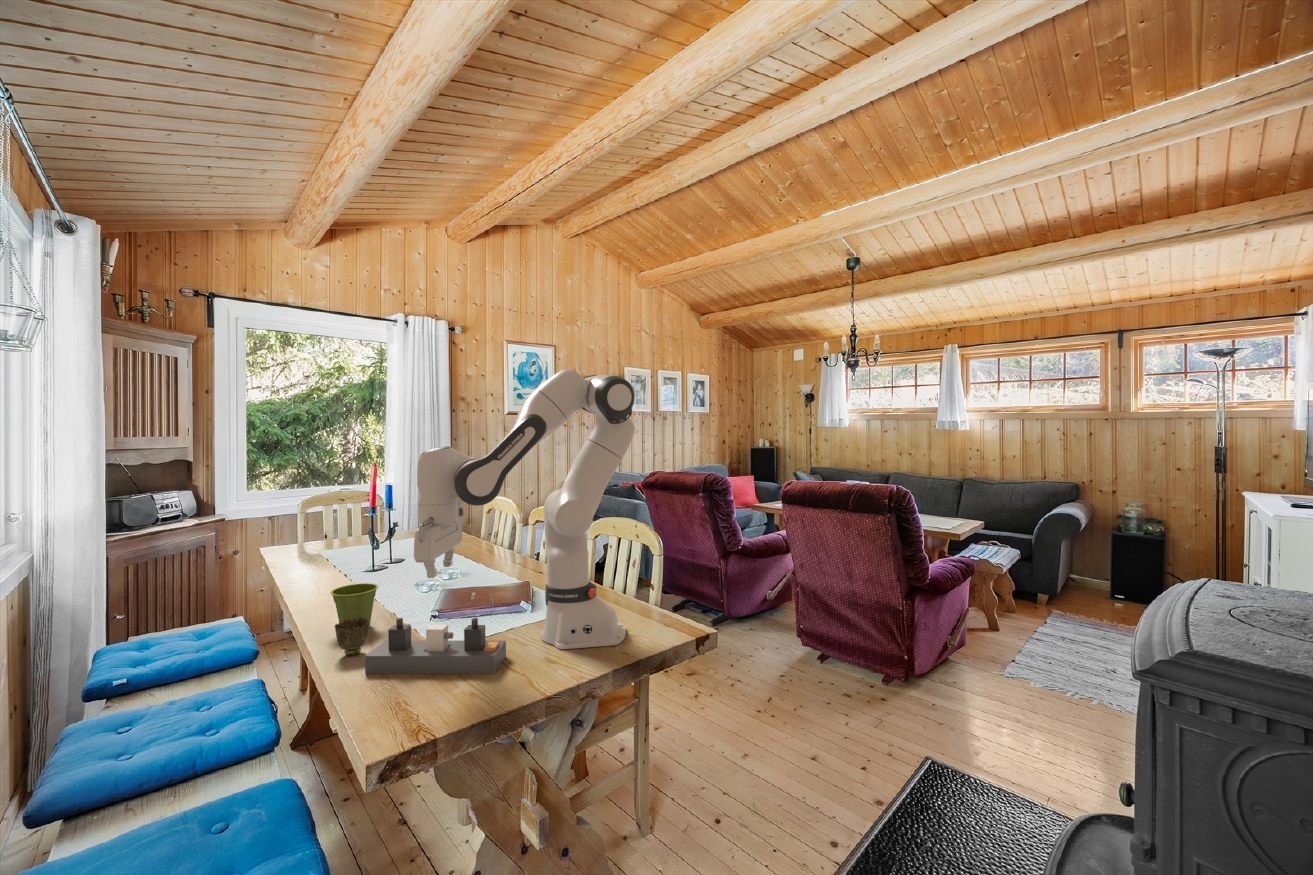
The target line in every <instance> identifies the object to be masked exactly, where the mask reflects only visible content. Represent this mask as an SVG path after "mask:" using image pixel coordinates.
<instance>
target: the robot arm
mask: <svg viewBox="0 0 1313 875" xmlns="http://www.w3.org/2000/svg"><path fill="white" fill-rule="evenodd" d="M634 404H635V391H634V387H633V386H632V384H631V383H630V382H629V381H628V380H626V379H625V378H624V377H621V376H618V375H612V374H611V375H610V374H598V375H597V374H595V375H594V374H592V375H587V376H584V377H583V376H582V375H581V374H580V373H579V372H577V371H576V370H573V369H570V368H564V369H562V370H560V371H558V372H556V373H555V374H553V375H552V376H551V377H549V378H548V379H547V380H545V381H544V382H543V383H541V384H540V385H539V386H538V387H537V388H536V389H535V390H534V391H533V392H531V394H530V395H529V396H528V397H527V398H526V400H525V401H524V402H523V404H521V406H520V408H519V410H518V412H517V417H516V421H515V423H514V425H513V427H512V429H511V430H509V432H508V434H506V436H505V437H503V439H502V440H501V441H500V442H499V443H497V445H495V447H493V449H491V450H490V452H489V453H488V454H487V455H485V456H483V457H482V458H477V457H473V456H470V455H467V454H465V453H462V452H459V451H458V450H456V449H455V448H453V447H452V446H447V445H446V446H445V445H444V446H439V447H434V448H429V449H426V450H425V451H423V452H422V453H421V454H420V455H419V456H418V461H417V468H416V482H417V483H416V484H417V485H416V486H417V489H418V492H419V496H418V497H419V498H418V500H417V505H418V506H417V511H418V512H417V513H418V515H417V516H418V524H420V525H419V527H418V528H417V529H416V530H415V534H414V541H413V543H414V544H413V560H414V561H415V562H416V563H417V564H418V563H419V564H421V563H423V566H424V568H425V570H426V577H427V578H428V579H434V578H436V577H437V576H438V569H437V568H436V565H435V564H436V559H437V558H439V557H441V556H442V555H444V558H443V560H442V563H443V564H442V565H443V567H444V568H450V567H451V566H453V563H454V562H453V558H454V555H455V547H457V546H459V545H460V544H461V542H462V540H463V528H464V526H463V524H464V523H463V518H462V517H463V516H464V514H465V508H464V507H462V506H460V505H459V504H458V503H459V502H458V499H460V500H461V501H463V502H464V503H465V504H467V505H470V506H475V507H476V506H477V507H479V506H484V505H487V504H489V503H491V502H492V501H494V499H496V498H497V497H498V495H499V494H500V492H501V490H502V489H501V488H502V486H503V483H504V481H505V479H506V476H507V475H508V474H509V472H511V470H512V469H514V467H515V466H516V465H517V464H518V463H519V462H520V461H521V460H522V459H523V458H524V457H525V456H526V455H527V454H528V453H529V452H530V450H532V449H533V447H534V446H536V445H537V444H539V443H540V442H541V441H543V440H544V439H546V438H547V437H549V436H550V435H551V434H553V433H554V432H555V431H557V430H558V429H559V428H560V427H561V426H562V425H563V424H564V423H566V421H567V420H568V419H569V418H570V417H571V416H573V414H574V413H575V412H577V411H578V410H580V409H582V410H583V411H585V412H588V413H590V414H594V415H595V422H594V427H593V429H592V431H591V433H590V434H589V435H588V437H587V439H586V440H585V441H584V443H583V445H582V447H581V448H580V450H579V452H578V453H577V455H576V457H575V459H574V460H573V462H572V463H571V466H570V469H569V471H568V473H567V476H566V478H565V481H564V482H563V484H562V486H561V488H559V489H555V490H554V491H552V492H550V493H549V495H548V496H547V497H546V499H545V501H544V504H543V522H544V536H545V537H544V538H545V540H544V541H545V548H546V550H545V551H546V581H547V582H546V584H545V589H544V598H545V606H546V612H545V621H544V625H543V629H542V630H543V631H542V634H541V639H542V641H544V642H546V643H547V644H550V645H553V646H554V647H556V648H557V649H559V650H570V649H583V648H594V647H596V648H598V647H610V646H617V645H619V644H621V643H622V642H623V641H624V640H625V638H626V635H627V631H626V630H627V629H626V626H625V624H623V623H621V622H619V621H618V617H617V612H616V610H615V608H614V606H612V605H610V604H609V603H607V602H606V601H605V600H603V599H602V598H600V597H599V596H598V595H597V584H596V582H594V583H592V582H591V581H590V579H589V576H590V575H589V571H590V570H589V550H588V544H587V537H586V532H587V531H588V530H590V527H591V525H592V523H593V520H594V516H595V514H596V512H597V510H598V508H599V505H600V503H601V500H602V498H603V496H604V493H605V490H606V489H607V486H608V484H609V483H610V481H611V479H612V477H613V475H614V474H615V472H616V471H617V469H618V467H619V465H620V464H621V462H622V460H623V459H624V456H625V455H626V453H627V451H628V449H629V446H630V445H631V442H632V440H633V437H634V434H635V432H636V431H635V429H636V428H635V423H634V422H633V420H632V419H631V417H632V414H633V407H634Z"/></svg>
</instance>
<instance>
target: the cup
mask: <svg viewBox="0 0 1313 875" xmlns="http://www.w3.org/2000/svg"><path fill="white" fill-rule="evenodd" d="M368 624H369V620H368V622H367V619H366V618H365V619H364V618H362V617H360V618H359V619H358V620H356V618H353V620H352V621H351V620H350V619H348V620H347V621H346V620H344V621H343V623H340V622H339V621H338V623H335V624H334V629H335V630H334V631H335V636H336V641H337V644H338V646H339V648H341V650H344V655H345V656H347V657H353V656H357V655H358V654H360V653H361V651H362V648H361V647H363V646H364V644H365V643H366V641H367V638H368V632H369V627H368Z"/></svg>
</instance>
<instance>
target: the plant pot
mask: <svg viewBox="0 0 1313 875" xmlns="http://www.w3.org/2000/svg"><path fill="white" fill-rule="evenodd" d="M378 589H379V585H378V584H376V583H368V582H367V583H362V582H361V583H354V584H353V583H352V584H347V585H342V586H339V587H337V588H334V589H332V590H331V591H330V595H331V596H332V598H333V603H335V604H334V605H335V609H336V613H337V618H338V623H339V622H340V623H343V621H344V620H346V621H347V620H348V619H350V620H351V621H352V620H353V618H356V620H358V619H359V618H360V617H362V618H364V619H365V618H366V619H367V622H368V620H369V624H368V628H369V627H370V626H371V621H372V614H373V606H374V602H375V598H376V593H377V590H378Z"/></svg>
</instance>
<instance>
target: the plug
mask: <svg viewBox="0 0 1313 875" xmlns="http://www.w3.org/2000/svg"><path fill="white" fill-rule="evenodd" d="M453 638H454V632H449V625H448V624H431V625H429V626H428V627H427V628H426V629H425V641H426V652H445V651H446V650H447V649H448V641H449V639H451V640H453Z"/></svg>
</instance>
